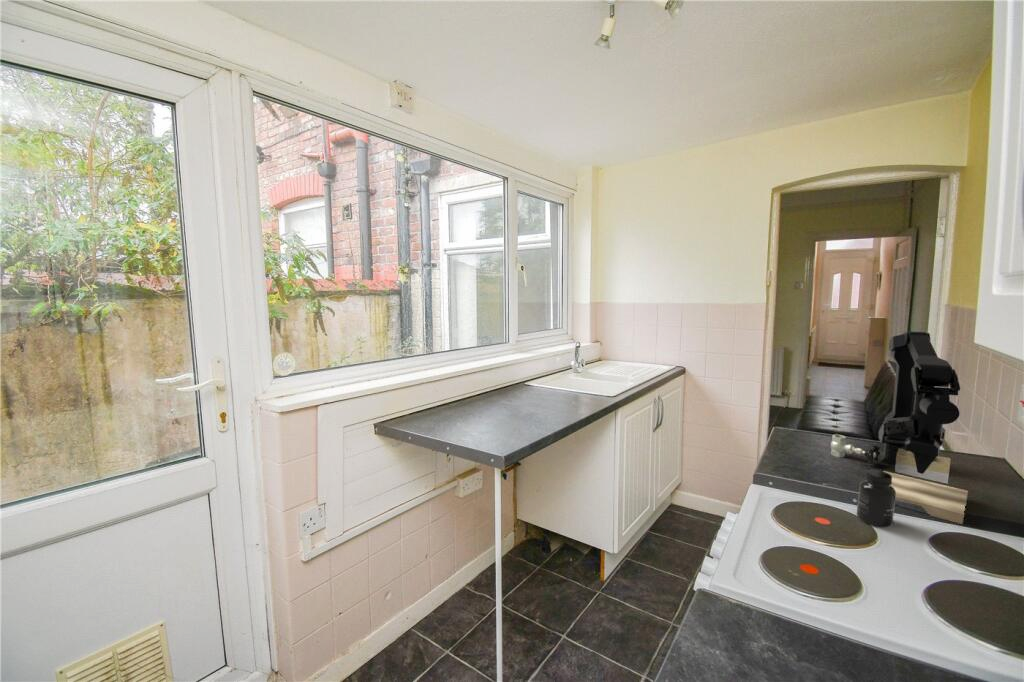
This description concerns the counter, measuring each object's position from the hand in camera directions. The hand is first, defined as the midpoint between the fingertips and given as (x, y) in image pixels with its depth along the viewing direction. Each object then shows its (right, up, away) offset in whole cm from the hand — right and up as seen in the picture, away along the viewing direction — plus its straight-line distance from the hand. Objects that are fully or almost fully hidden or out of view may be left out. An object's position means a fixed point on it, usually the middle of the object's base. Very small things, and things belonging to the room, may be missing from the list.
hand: (921, 469), depth 115 cm
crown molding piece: (0, -8, +1) cm, 8 cm away
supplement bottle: (-19, -10, -8) cm, 23 cm away
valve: (+2, -5, +26) cm, 27 cm away
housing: (0, -1, 0) cm, 1 cm away
